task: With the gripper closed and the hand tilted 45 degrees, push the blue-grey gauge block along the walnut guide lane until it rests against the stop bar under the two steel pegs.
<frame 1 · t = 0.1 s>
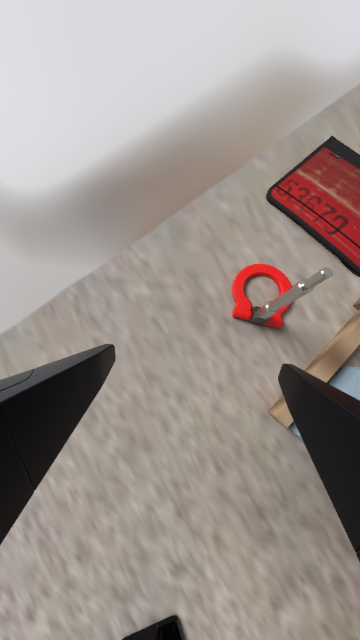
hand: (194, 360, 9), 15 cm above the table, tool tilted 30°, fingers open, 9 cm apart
binder: (338, 212, 28), on the table
tow hook: (258, 295, 25), on the table
gauge block: (350, 427, 21), on the table
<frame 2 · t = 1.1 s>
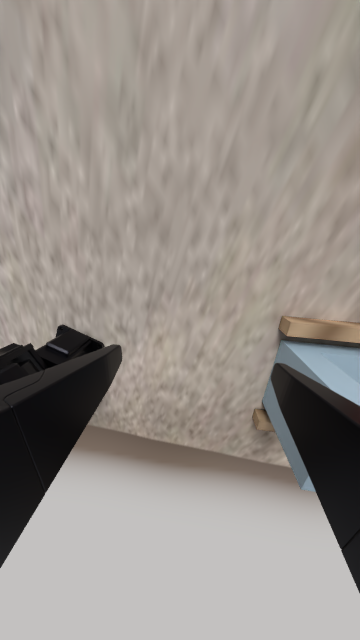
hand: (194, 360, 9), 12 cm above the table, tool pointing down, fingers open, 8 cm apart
gauge block: (313, 377, 22), on the table
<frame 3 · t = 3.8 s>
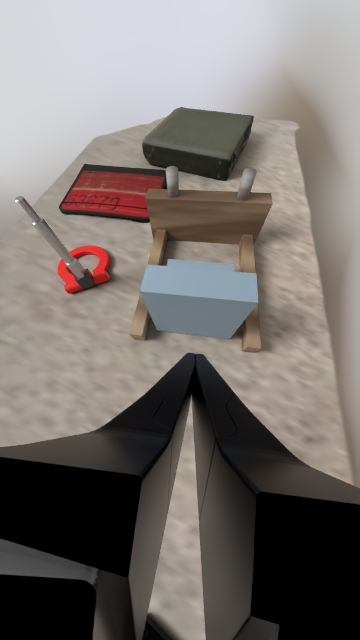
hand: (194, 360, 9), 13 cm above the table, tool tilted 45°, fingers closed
dark green electronics case: (198, 155, 44), on the table
binder: (118, 198, 38), on the table
tow hook: (87, 269, 29), on the table
gauge block: (196, 301, 25), on the table
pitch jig: (200, 265, 28), on the table
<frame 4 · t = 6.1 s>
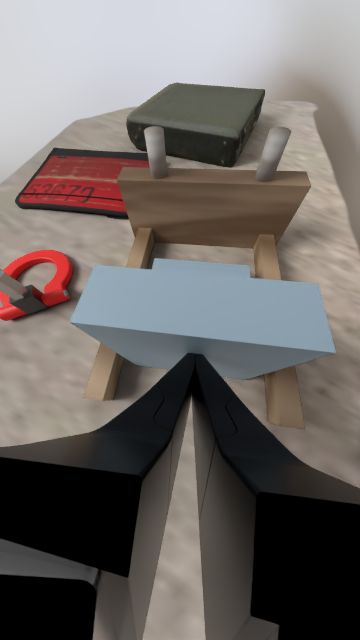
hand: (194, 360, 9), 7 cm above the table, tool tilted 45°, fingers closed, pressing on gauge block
dark green electronics case: (197, 139, 36), on the table
binder: (95, 189, 29), on the table
tow hook: (40, 283, 21), on the table
gauge block: (194, 318, 18), on the table, touching gripper
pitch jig: (199, 278, 20), on the table
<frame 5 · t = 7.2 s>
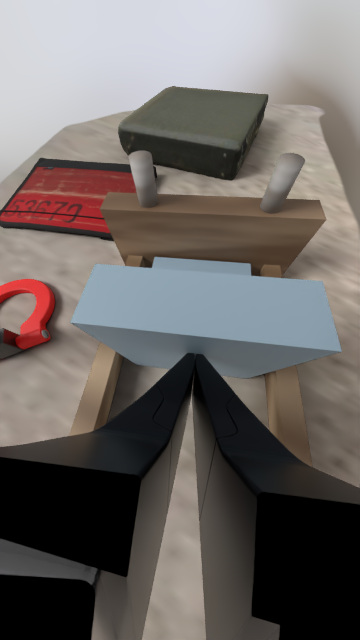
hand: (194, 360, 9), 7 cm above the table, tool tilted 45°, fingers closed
dark green electronics case: (195, 148, 34), on the table
binder: (84, 204, 27), on the table
tow hook: (18, 318, 18), on the table
gauge block: (195, 317, 18), on the table
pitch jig: (196, 314, 17), on the table
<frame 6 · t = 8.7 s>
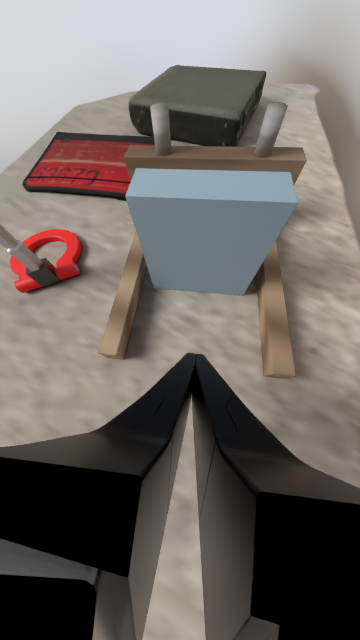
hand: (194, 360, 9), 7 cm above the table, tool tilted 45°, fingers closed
dark green electronics case: (198, 124, 36), on the table
binder: (99, 173, 30), on the table
tow hook: (51, 260, 22), on the table
gauge block: (200, 255, 21), on the table
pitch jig: (201, 254, 21), on the table
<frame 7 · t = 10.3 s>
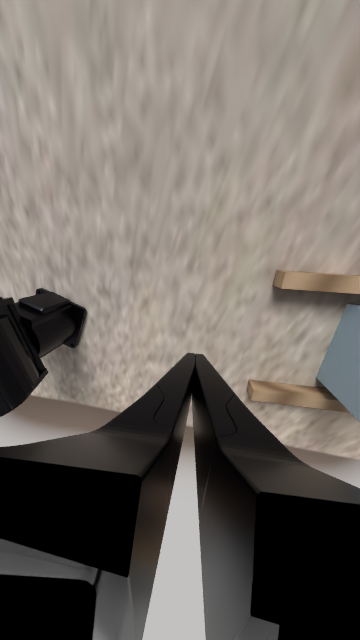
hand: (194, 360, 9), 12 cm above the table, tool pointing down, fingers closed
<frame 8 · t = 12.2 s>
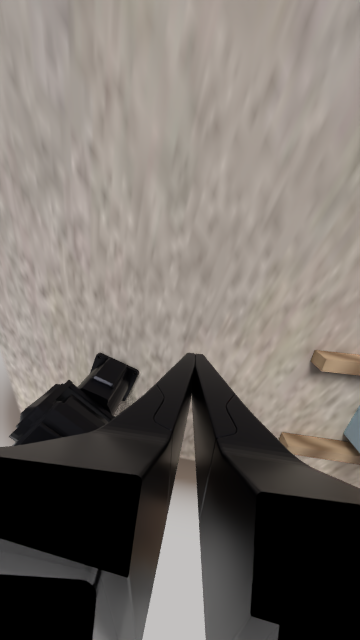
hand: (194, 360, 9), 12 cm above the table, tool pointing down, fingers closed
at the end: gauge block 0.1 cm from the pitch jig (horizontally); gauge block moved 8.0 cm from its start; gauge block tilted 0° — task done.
